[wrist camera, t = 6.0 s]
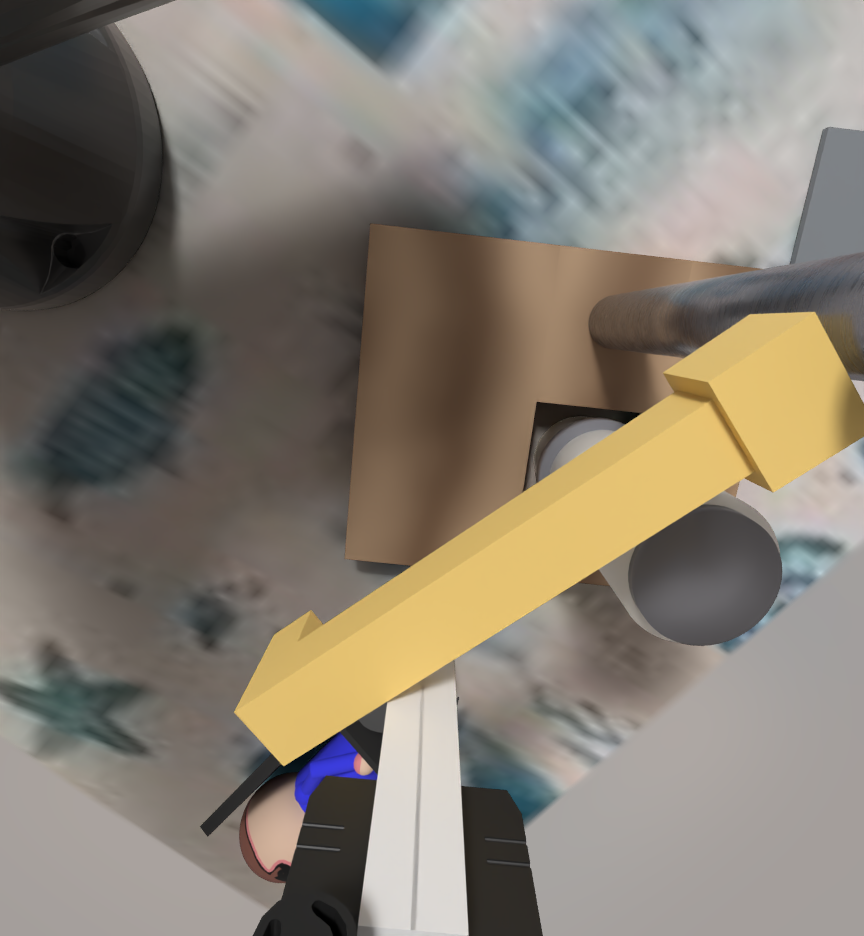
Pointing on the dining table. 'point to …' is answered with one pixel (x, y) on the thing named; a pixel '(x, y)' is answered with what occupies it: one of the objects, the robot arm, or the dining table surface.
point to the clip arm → (567, 526)
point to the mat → (834, 199)
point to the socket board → (480, 374)
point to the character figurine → (297, 795)
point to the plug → (683, 556)
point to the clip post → (738, 309)
